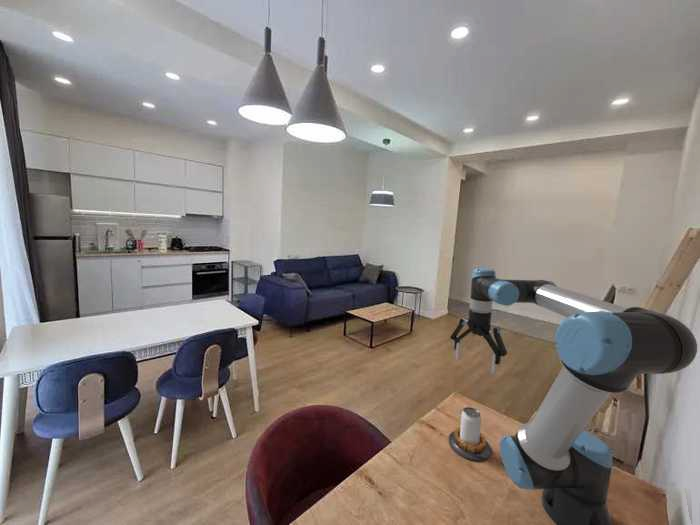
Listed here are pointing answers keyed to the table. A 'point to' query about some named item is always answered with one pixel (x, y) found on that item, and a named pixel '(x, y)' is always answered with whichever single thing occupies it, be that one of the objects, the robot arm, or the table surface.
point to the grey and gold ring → (469, 447)
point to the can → (470, 426)
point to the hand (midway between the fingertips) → (475, 364)
